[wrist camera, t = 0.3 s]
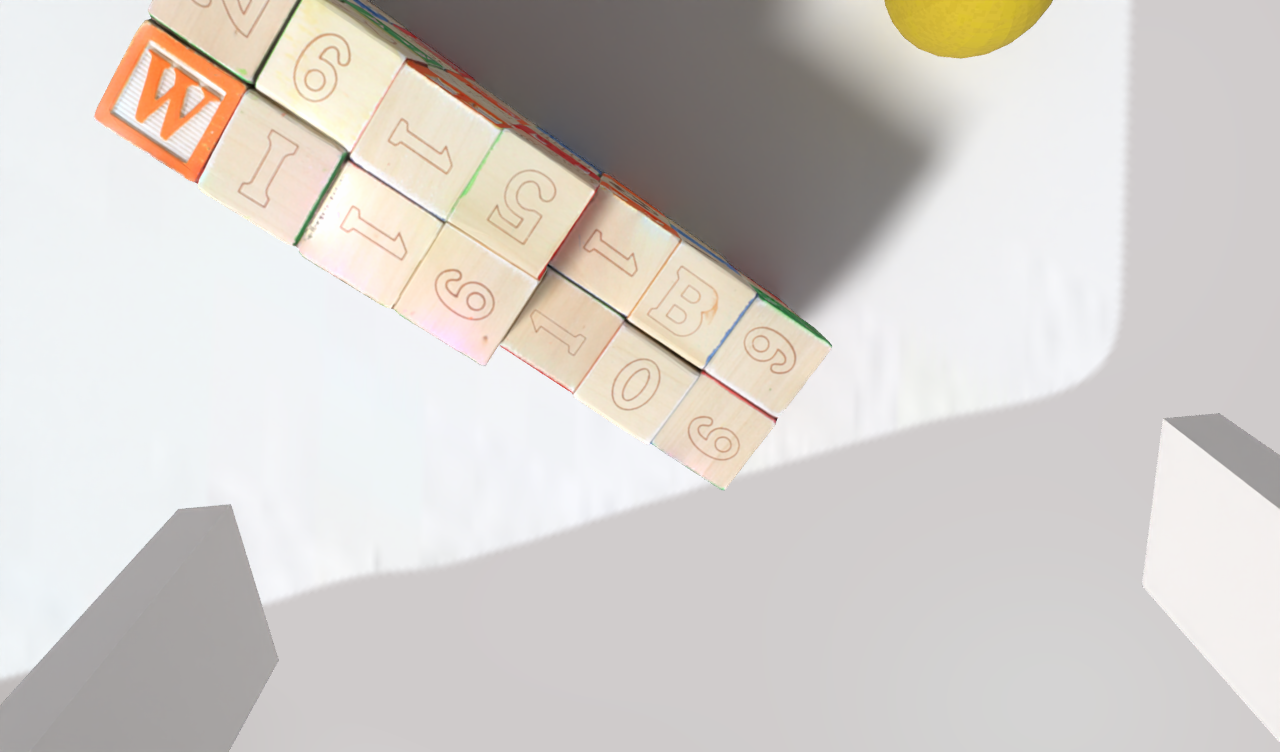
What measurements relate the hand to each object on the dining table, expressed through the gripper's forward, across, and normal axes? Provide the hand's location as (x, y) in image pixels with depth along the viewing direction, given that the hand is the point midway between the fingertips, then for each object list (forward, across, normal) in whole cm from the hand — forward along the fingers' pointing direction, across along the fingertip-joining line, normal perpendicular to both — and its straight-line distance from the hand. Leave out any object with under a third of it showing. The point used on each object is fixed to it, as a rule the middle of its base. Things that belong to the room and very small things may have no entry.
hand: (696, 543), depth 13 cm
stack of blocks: (+26, -5, 0) cm, 26 cm away
